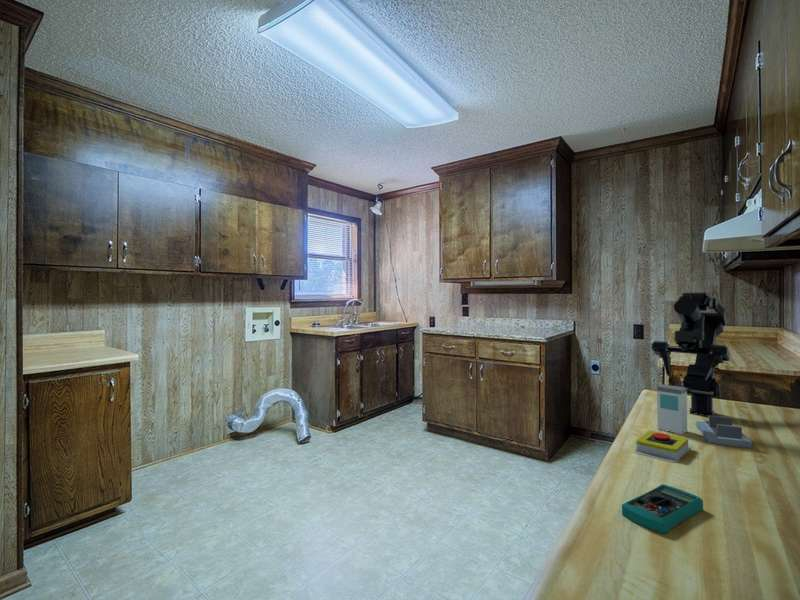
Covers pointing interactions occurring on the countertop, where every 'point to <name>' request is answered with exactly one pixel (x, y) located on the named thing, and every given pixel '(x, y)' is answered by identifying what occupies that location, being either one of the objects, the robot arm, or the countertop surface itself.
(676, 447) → the emergency button
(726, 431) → the end clamps
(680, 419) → the block
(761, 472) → the countertop surface
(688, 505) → the digital multimeter
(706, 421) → the steel rail
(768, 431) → the countertop surface
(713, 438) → the rail board
